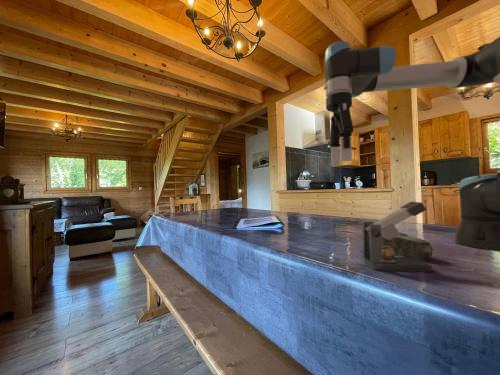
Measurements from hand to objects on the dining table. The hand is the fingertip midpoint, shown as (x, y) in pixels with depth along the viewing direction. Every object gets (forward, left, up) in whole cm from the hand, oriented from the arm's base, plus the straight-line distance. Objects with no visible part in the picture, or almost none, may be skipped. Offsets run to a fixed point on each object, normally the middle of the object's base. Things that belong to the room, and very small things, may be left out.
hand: (340, 163), depth 68 cm
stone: (-17, 0, -28) cm, 33 cm away
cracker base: (-10, +11, -28) cm, 32 cm away
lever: (-12, +11, -19) cm, 25 cm away
